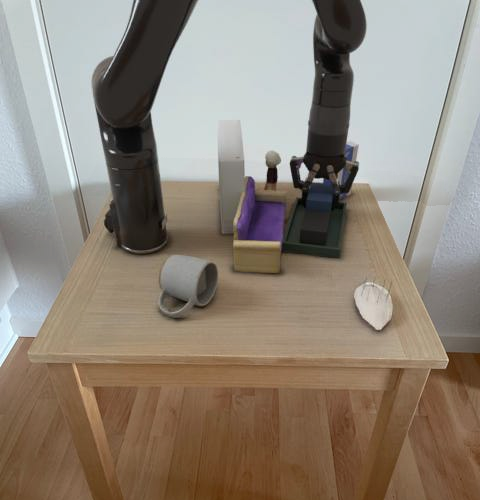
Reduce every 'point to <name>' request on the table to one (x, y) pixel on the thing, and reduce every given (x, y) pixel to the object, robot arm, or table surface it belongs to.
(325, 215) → the charcoal pad
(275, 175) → the grandmother figurine
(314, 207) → the dark blue block
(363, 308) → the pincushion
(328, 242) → the pad frame
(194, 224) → the table surface
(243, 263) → the toy sofa
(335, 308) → the table surface
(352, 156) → the blue and white box
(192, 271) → the ceramic mug
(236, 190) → the skincare box
